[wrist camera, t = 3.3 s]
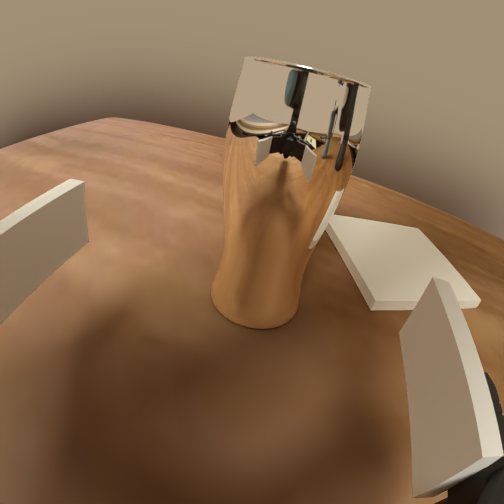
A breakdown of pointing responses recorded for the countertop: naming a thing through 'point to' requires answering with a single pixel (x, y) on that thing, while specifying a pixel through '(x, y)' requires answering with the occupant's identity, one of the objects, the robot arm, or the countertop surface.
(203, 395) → the countertop surface
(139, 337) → the countertop surface
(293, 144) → the beer glass
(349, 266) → the mat
